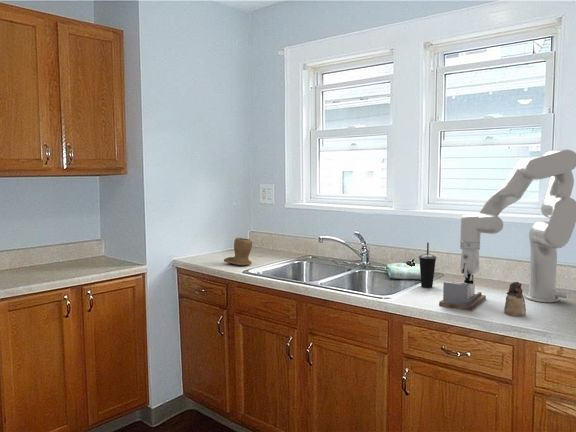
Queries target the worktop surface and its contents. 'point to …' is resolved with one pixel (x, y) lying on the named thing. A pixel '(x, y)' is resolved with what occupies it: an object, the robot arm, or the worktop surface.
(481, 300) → the base
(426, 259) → the drinking cup
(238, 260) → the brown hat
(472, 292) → the gauge carriage
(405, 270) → the towel
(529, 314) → the worktop surface
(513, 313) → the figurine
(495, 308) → the worktop surface
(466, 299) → the grey rectangular block
